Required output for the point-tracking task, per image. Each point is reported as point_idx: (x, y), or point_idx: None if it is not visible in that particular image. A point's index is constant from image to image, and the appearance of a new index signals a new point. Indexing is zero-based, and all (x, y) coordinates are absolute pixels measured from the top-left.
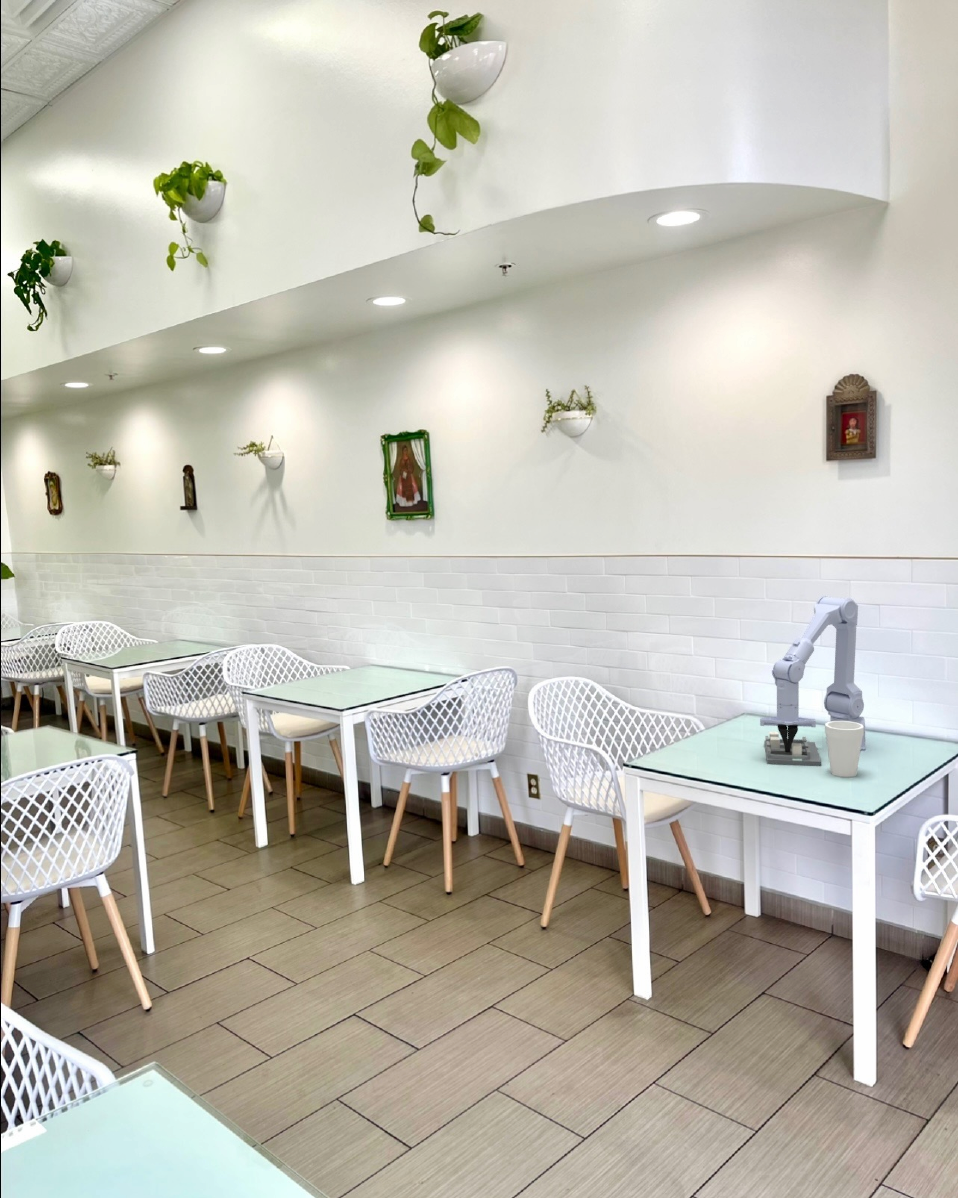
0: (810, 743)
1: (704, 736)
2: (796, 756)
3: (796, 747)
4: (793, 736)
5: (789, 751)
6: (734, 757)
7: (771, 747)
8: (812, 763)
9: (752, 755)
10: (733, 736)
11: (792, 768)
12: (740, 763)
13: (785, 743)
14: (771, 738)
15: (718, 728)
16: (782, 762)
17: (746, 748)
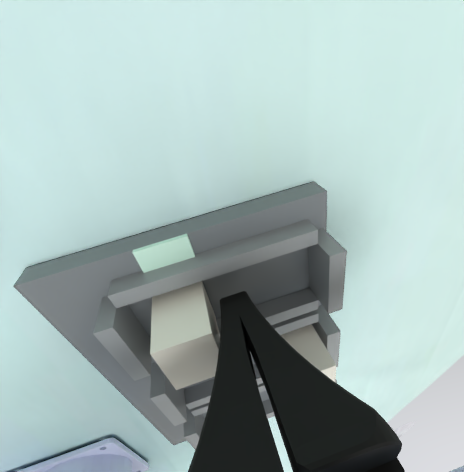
0: (181, 433)
1: (455, 355)
2: (173, 273)
3: (184, 334)
4: (217, 412)
5: (224, 302)
6: (439, 221)
7: (313, 331)
8: (72, 261)
9: (365, 274)
10: (387, 384)
11: (167, 154)
12: (442, 138)
13: (263, 332)
14: (332, 379)
15: (406, 404)
16: (241, 210)
17: (372, 328)
